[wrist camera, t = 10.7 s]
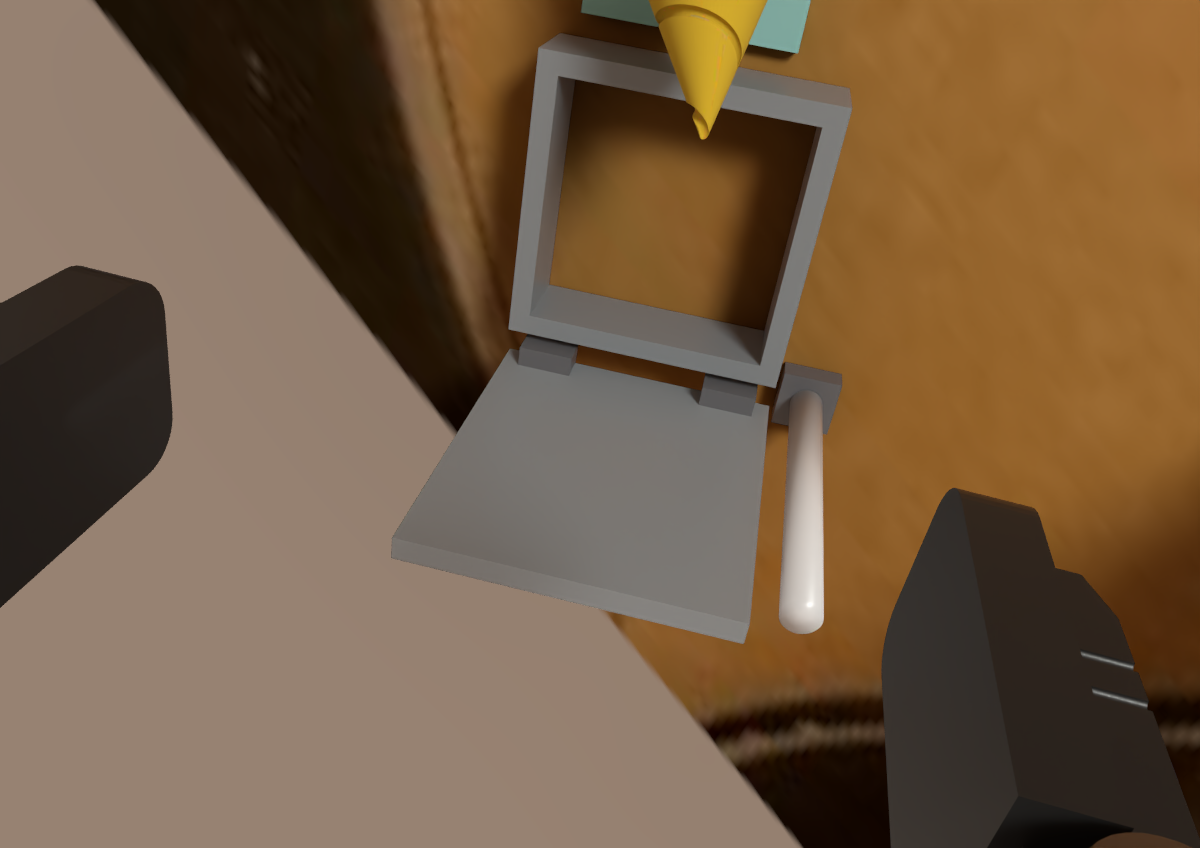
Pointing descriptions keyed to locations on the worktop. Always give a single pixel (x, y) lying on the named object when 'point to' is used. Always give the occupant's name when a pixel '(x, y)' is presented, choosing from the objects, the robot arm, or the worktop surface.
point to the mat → (772, 31)
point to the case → (639, 406)
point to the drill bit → (706, 48)
